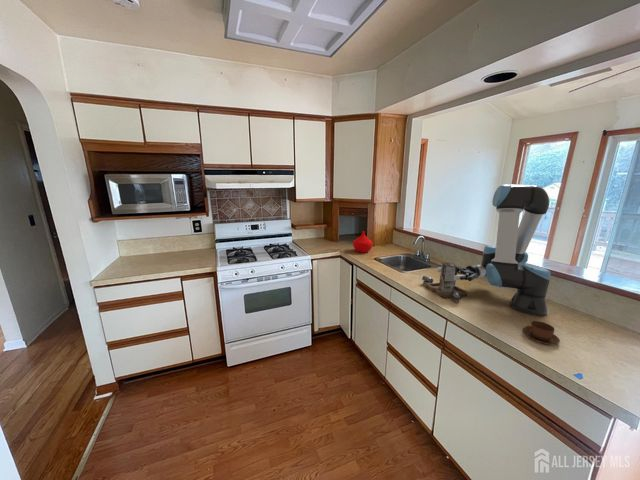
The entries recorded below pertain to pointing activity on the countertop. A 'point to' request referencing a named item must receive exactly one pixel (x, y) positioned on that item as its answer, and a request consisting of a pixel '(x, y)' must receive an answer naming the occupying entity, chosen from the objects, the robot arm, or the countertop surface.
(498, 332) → the countertop surface
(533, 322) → the cup and saucer
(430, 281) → the shaft
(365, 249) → the vase
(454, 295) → the shaft
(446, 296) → the coupling cradle
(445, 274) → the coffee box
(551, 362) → the countertop surface
